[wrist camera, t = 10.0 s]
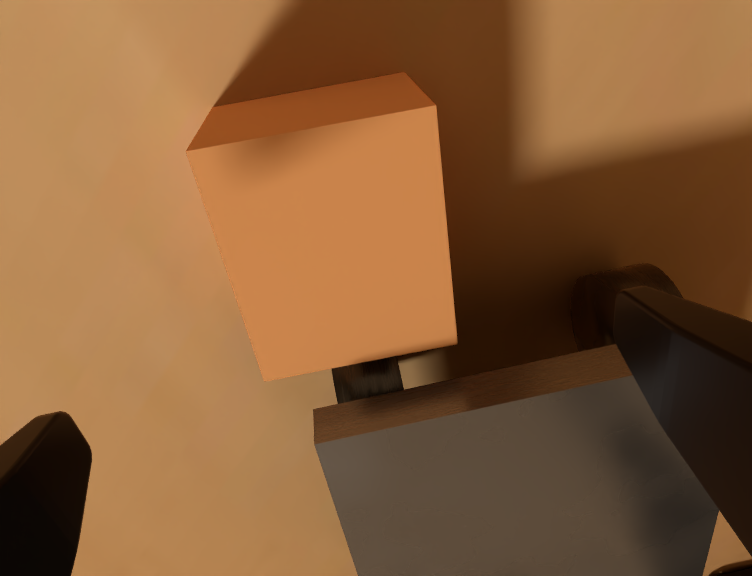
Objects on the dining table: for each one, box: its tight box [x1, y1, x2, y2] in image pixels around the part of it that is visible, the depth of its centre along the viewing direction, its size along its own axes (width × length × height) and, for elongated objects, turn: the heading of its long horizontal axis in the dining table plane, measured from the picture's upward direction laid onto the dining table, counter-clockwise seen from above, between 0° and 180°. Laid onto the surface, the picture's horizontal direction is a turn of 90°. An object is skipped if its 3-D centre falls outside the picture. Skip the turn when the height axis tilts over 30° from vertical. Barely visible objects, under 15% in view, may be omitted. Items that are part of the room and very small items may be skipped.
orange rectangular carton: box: [186, 72, 458, 382], centre depth 14 cm, size 5×6×4 cm
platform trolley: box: [313, 263, 719, 576], centre depth 17 cm, size 11×17×10 cm, turn 10°
